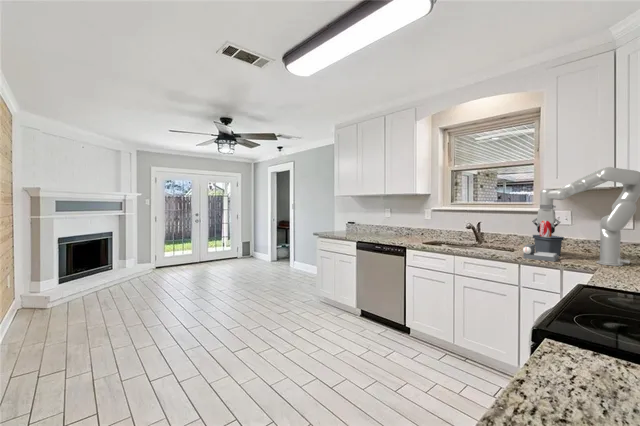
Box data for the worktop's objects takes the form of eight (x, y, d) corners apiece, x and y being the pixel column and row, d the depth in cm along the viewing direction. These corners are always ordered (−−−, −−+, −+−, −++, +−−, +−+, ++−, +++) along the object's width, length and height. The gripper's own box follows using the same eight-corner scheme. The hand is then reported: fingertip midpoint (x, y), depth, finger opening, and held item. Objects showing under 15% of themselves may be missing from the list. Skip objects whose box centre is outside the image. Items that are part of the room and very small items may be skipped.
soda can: (551, 238, 211) (551, 220, 211) (538, 237, 216) (539, 220, 215) (552, 237, 216) (552, 220, 216) (540, 236, 221) (540, 219, 221)
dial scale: (558, 259, 216) (558, 246, 216) (554, 261, 207) (554, 248, 207) (527, 255, 230) (527, 243, 230) (522, 258, 221) (522, 245, 220)
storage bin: (529, 252, 247) (530, 234, 246) (550, 252, 245) (550, 234, 245) (546, 256, 225) (547, 237, 225) (569, 257, 224) (569, 237, 223)
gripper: (563, 207, 211) (562, 233, 212) (532, 207, 224) (532, 231, 225) (560, 207, 206) (560, 234, 207) (530, 207, 219) (529, 232, 220)
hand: (545, 232), depth 216 cm, fingers closed on soda can, 7 cm apart
